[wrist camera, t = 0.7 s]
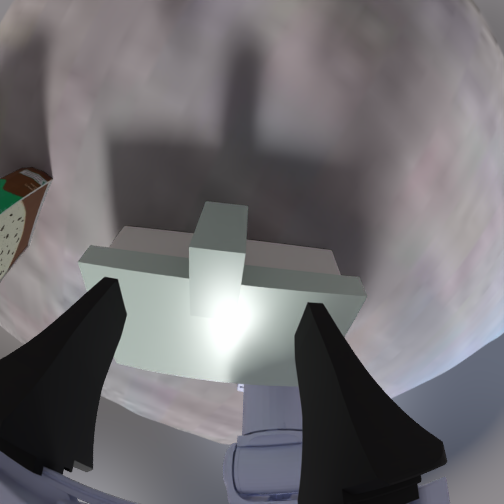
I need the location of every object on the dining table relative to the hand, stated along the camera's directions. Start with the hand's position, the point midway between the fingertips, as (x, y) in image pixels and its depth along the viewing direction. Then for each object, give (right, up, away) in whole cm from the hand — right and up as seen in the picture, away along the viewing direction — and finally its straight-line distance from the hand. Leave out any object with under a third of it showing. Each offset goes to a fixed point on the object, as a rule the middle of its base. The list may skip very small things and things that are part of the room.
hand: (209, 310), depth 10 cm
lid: (-1, -2, +8) cm, 8 cm away
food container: (-20, +7, +7) cm, 22 cm away
